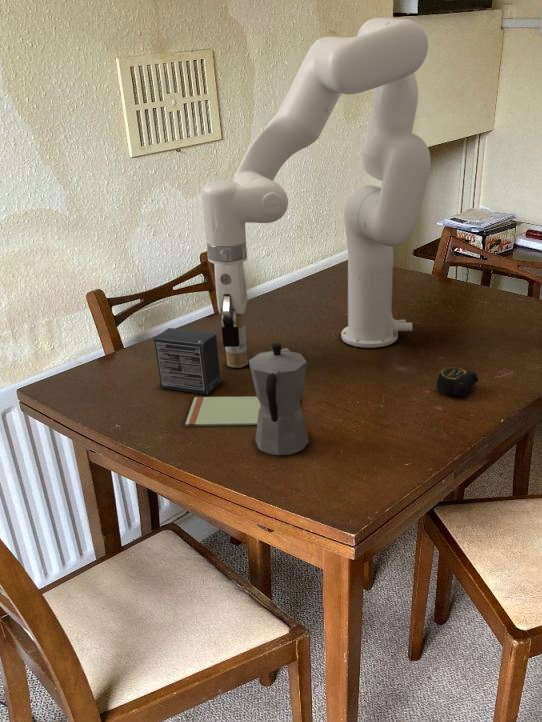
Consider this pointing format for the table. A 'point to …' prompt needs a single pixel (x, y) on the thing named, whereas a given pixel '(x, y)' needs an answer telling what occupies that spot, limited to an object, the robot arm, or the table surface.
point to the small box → (188, 360)
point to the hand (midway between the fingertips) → (234, 337)
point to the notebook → (223, 411)
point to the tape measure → (455, 381)
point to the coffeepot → (279, 400)
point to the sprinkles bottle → (238, 354)
